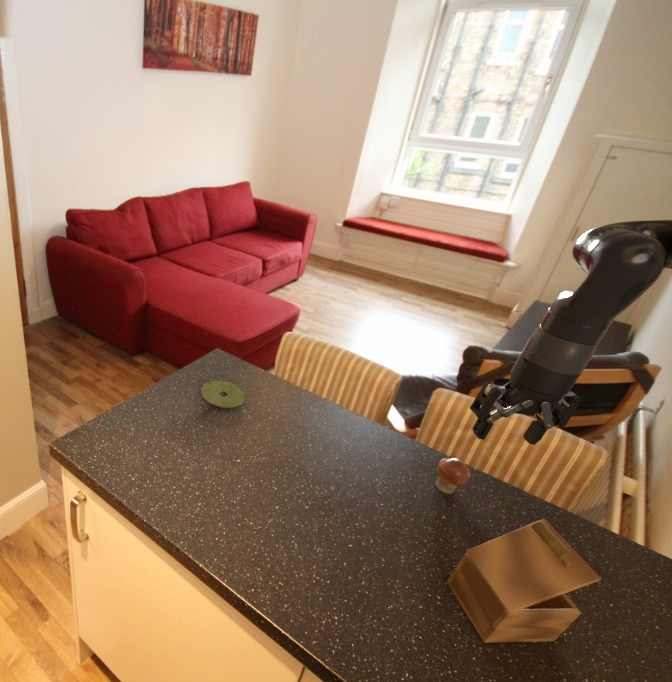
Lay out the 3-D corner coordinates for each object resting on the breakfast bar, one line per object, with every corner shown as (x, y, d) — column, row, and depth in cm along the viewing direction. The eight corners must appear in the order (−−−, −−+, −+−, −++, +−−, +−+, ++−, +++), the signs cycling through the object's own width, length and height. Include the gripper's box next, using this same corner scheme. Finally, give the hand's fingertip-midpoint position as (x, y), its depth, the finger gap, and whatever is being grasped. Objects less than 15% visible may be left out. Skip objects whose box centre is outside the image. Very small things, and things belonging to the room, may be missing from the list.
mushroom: (456, 482, 95) (470, 456, 91) (462, 501, 90) (478, 475, 86) (427, 474, 96) (440, 448, 92) (432, 493, 92) (446, 467, 88)
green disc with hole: (206, 382, 120) (207, 376, 119) (247, 392, 117) (248, 386, 116) (195, 406, 111) (196, 399, 110) (240, 418, 108) (241, 411, 107)
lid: (545, 520, 68) (538, 503, 65) (601, 580, 59) (595, 563, 57) (466, 552, 71) (457, 537, 69) (509, 613, 63) (501, 598, 60)
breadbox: (508, 581, 76) (531, 553, 72) (554, 641, 68) (582, 613, 64) (445, 581, 75) (464, 553, 71) (483, 642, 67) (508, 614, 63)
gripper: (581, 350, 71) (530, 428, 79) (491, 341, 71) (450, 420, 79) (620, 377, 65) (560, 459, 73) (521, 367, 65) (473, 449, 73)
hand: (503, 438), depth 76 cm, fingers open, 8 cm apart
